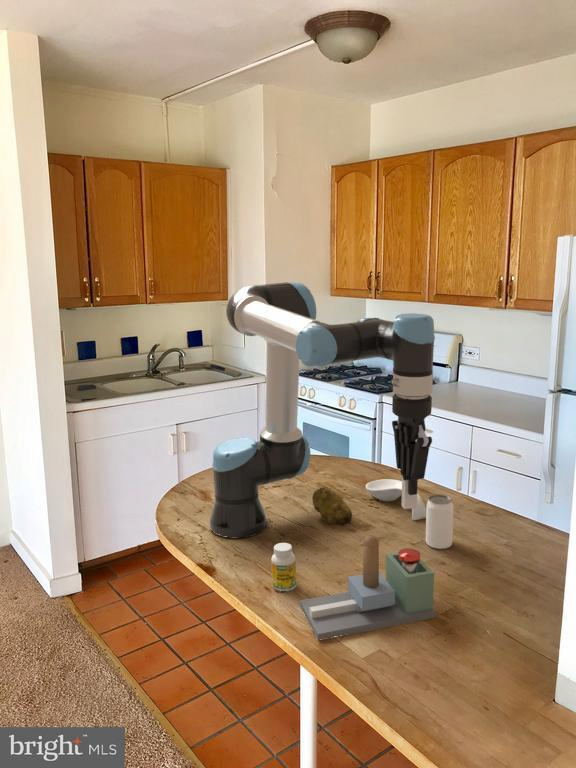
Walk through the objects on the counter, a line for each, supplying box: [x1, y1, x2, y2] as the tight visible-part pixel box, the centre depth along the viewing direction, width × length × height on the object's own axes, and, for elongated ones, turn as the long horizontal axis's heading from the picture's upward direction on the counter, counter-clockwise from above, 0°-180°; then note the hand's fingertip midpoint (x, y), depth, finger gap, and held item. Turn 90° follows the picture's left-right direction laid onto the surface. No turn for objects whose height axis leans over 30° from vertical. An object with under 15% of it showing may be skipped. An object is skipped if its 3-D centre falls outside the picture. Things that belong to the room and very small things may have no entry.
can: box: [425, 494, 454, 550], centre depth 157 cm, size 6×6×12 cm
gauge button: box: [398, 547, 421, 574], centre depth 131 cm, size 4×4×9 cm
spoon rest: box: [365, 478, 427, 521], centre depth 182 cm, size 24×12×7 cm, turn 24°
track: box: [299, 551, 436, 641], centre depth 129 cm, size 12×25×10 cm, turn 105°
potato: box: [312, 486, 353, 526], centre depth 173 cm, size 8×13×8 cm, turn 19°
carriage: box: [347, 534, 395, 612], centre depth 129 cm, size 8×7×15 cm
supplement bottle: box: [270, 542, 297, 592], centre depth 140 cm, size 5×5×10 cm
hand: (409, 506), depth 128 cm, fingers closed
